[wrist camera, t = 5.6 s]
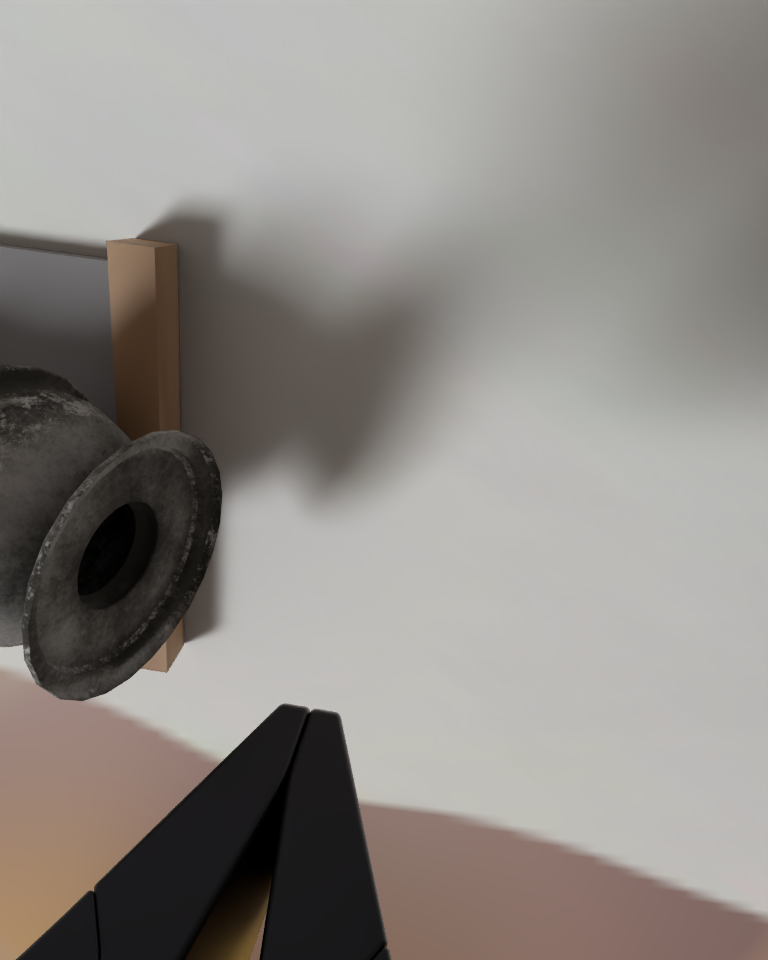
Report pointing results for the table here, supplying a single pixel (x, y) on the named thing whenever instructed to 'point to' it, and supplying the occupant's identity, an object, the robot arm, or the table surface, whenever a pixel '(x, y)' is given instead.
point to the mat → (59, 319)
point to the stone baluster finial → (95, 534)
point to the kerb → (146, 356)
